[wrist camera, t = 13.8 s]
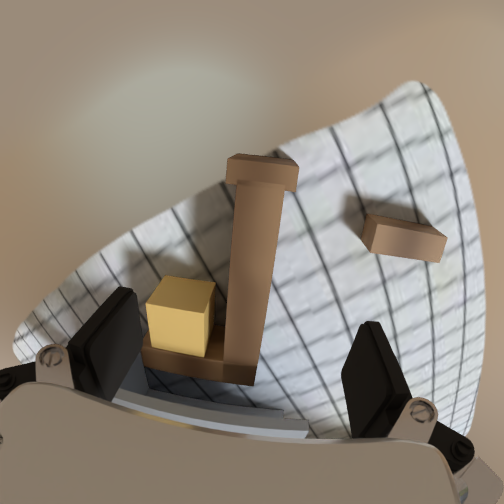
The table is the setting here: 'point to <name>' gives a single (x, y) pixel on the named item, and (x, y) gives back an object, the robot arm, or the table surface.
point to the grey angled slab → (204, 409)
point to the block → (181, 315)
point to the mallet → (240, 275)
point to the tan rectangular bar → (402, 238)
